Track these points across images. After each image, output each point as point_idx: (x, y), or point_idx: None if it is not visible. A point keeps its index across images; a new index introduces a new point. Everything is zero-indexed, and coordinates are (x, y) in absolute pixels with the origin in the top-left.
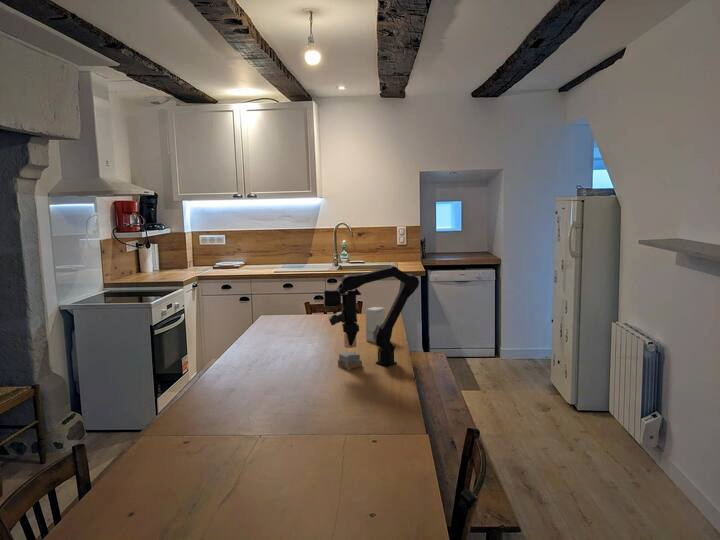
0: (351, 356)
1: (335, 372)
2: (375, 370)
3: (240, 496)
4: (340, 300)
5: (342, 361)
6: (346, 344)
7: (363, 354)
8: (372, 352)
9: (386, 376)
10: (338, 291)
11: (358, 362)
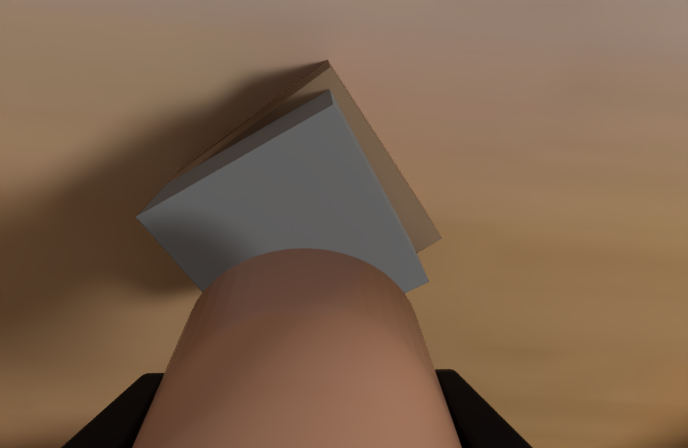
0: (185, 270)
1: (80, 5)
2: None
3: None
4: None
5: (256, 127)
6: (189, 329)
7: (614, 323)
8: (630, 382)
9: (23, 422)
10: None
11: None
